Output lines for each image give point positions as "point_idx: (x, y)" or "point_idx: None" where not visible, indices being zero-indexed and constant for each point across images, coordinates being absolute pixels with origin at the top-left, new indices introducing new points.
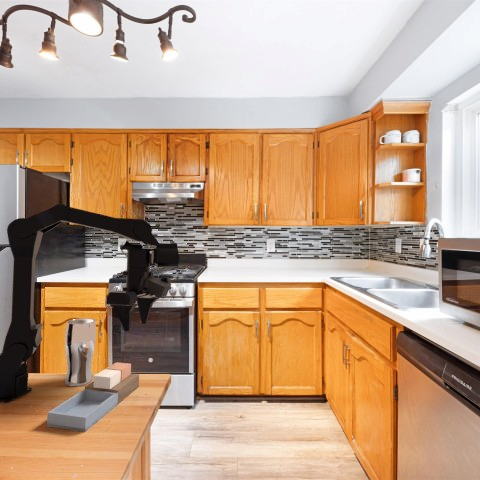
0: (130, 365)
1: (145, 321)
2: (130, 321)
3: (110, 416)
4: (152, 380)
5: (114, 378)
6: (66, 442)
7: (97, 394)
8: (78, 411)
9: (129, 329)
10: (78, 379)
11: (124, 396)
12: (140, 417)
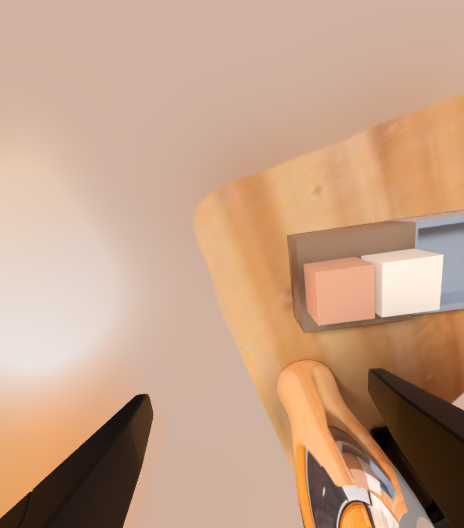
0: (317, 270)
1: (141, 408)
2: (450, 418)
3: (441, 198)
4: (236, 226)
5: (410, 255)
6: None
7: None
8: (448, 272)
9: (381, 373)
10: (332, 379)
11: (361, 225)
12: (434, 124)
